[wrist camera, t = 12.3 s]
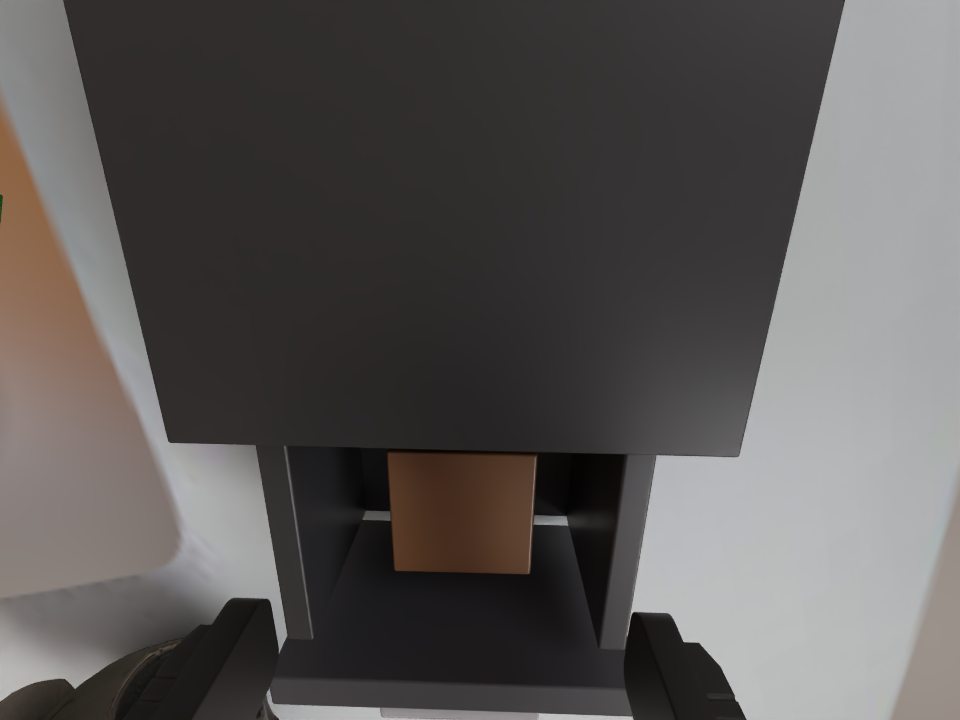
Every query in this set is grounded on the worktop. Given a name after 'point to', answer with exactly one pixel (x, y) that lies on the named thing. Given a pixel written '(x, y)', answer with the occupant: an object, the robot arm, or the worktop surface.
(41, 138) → the worktop surface
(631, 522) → the drawer
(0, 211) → the milk carton
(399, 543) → the block
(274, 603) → the worktop surface
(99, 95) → the cabinet
